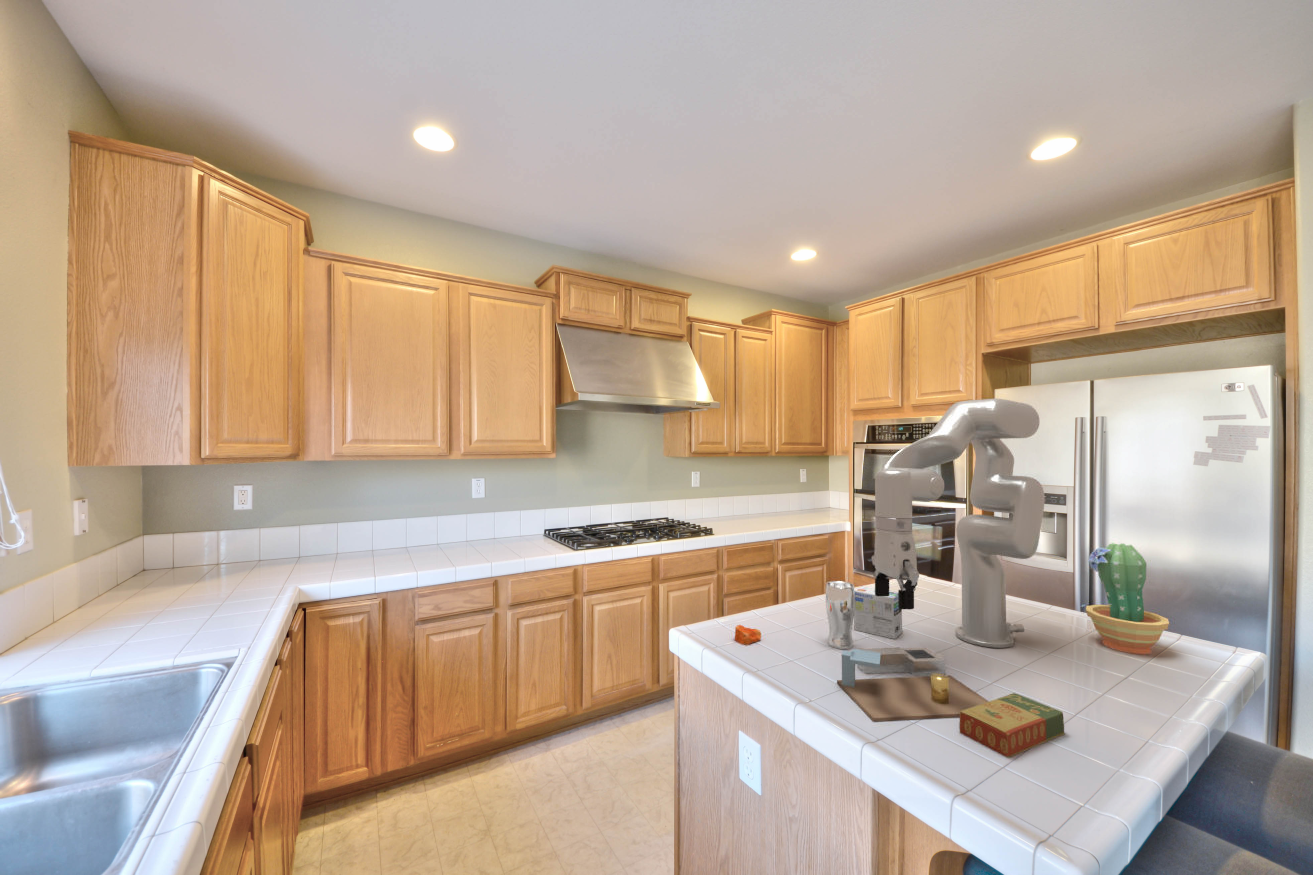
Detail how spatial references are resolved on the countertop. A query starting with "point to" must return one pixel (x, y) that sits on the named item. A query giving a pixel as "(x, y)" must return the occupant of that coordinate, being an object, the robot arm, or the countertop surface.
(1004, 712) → the carton
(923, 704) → the board
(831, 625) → the beer glass
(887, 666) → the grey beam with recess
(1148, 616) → the potted cactus
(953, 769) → the countertop surface
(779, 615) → the countertop surface
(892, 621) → the light bulb box
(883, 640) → the countertop surface
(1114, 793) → the countertop surface
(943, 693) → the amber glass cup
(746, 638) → the rock
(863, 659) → the bracket
